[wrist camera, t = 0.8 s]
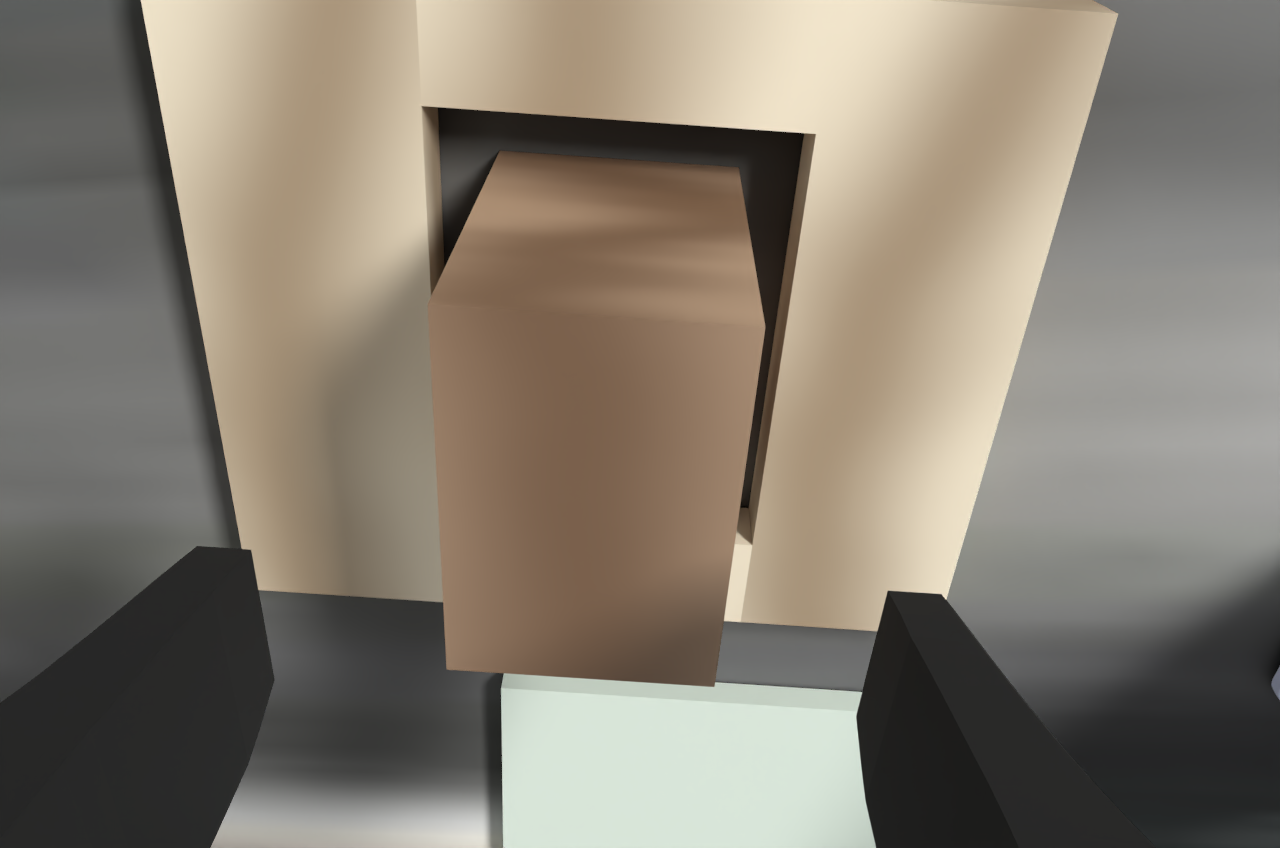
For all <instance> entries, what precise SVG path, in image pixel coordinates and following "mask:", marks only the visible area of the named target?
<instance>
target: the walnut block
mask: <svg viewBox="0 0 1280 848" xmlns="http://www.w3.org/2000/svg"><path fill="white" fill-rule="evenodd" d="M428 323H429V342H430V361H431V381H432V400H433V419H434V438H435V457H436V476H437V495H438V514H439V533H440V552H441V571H442V591H443V610H444V629H445V648H446V667H447V670H461V671H476V672H491V673H507V674H522V675H537V676H553V677H568V678H583V679H599V680H614V681H629V682H645V683H660V684H675V685H691V686H706V687H714V686H715V679H716V672H717V665H718V658H719V651H720V644H721V637H722V630H723V623H724V616H725V609H726V602H727V595H728V588H729V581H730V574H731V567H732V559H733V552H734V545H735V538H736V531H737V524H738V517H739V510H740V503H741V496H742V489H743V482H744V475H745V468H746V461H747V454H748V447H749V440H750V433H751V426H752V419H753V412H754V405H755V397H756V390H757V383H758V376H759V369H760V362H761V355H762V348H763V341H764V334H765V322H764V316H763V310H762V304H761V298H760V292H759V286H758V280H757V274H756V268H755V262H754V256H753V250H752V244H751V238H750V233H749V227H748V221H747V215H746V209H745V203H744V197H743V191H742V185H741V179H740V173H739V167H727V166H712V165H698V164H684V163H670V162H656V161H641V160H627V159H613V158H599V157H584V156H570V155H556V154H542V153H527V152H513V151H499V153H498V155H497V158H496V160H495V162H494V164H493V166H492V168H491V170H490V172H489V175H488V177H487V179H486V181H485V183H484V185H483V187H482V189H481V192H480V194H479V196H478V198H477V200H476V202H475V204H474V206H473V209H472V211H471V213H470V215H469V217H468V219H467V221H466V223H465V226H464V228H463V230H462V232H461V234H460V236H459V238H458V240H457V243H456V245H455V247H454V249H453V251H452V253H451V255H450V257H449V260H448V262H447V264H446V266H445V268H444V270H443V272H442V274H441V277H440V279H439V281H438V283H437V285H436V287H435V289H434V291H433V293H432V296H431V298H430V300H429V302H428Z"/></svg>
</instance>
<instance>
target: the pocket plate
mask: <svg viewBox="0 0 1280 848" xmlns="http://www.w3.org/2000/svg"><path fill="white" fill-rule="evenodd" d="M141 4H142V10H143V15H144V21H145V26H146V31H147V37H148V42H149V48H150V53H151V59H152V64H153V69H154V75H155V80H156V86H157V91H158V97H159V102H160V107H161V113H162V118H163V124H164V129H165V135H166V140H167V145H168V151H169V156H170V162H171V167H172V173H173V178H174V183H175V189H176V194H177V200H178V205H179V211H180V216H181V221H182V227H183V232H184V238H185V243H186V249H187V254H188V259H189V265H190V270H191V276H192V281H193V287H194V292H195V297H196V303H197V308H198V314H199V319H200V325H201V330H202V335H203V341H204V346H205V352H206V357H207V363H208V368H209V373H210V379H211V384H212V390H213V395H214V401H215V406H216V411H217V417H218V422H219V428H220V433H221V439H222V444H223V449H224V455H225V460H226V466H227V471H228V477H229V482H230V487H231V493H232V498H233V504H234V509H235V515H236V520H237V525H238V531H239V536H240V542H241V547H242V549H248V550H251V552H252V557H253V563H254V568H255V574H256V579H257V585H258V590H266V591H281V592H296V593H311V594H326V595H341V596H356V597H371V598H386V599H402V600H417V601H432V602H443V591H442V571H441V552H440V533H439V514H438V495H437V476H436V457H435V438H434V419H433V400H432V381H431V361H430V342H429V323H428V302H429V300H430V298H431V296H432V293H433V291H434V289H435V287H436V285H437V283H438V281H439V279H440V277H441V274H442V272H443V270H444V268H445V267H444V244H443V220H442V196H441V172H440V148H439V124H438V107H443V108H457V109H471V110H485V111H499V112H513V113H527V114H541V115H555V116H569V117H583V118H598V119H612V120H626V121H640V122H654V123H668V124H682V125H696V126H710V127H724V128H738V129H752V130H767V131H781V132H795V133H804V138H803V145H802V152H801V158H800V165H799V172H798V179H797V185H796V192H795V199H794V205H793V212H792V219H791V226H790V232H789V239H788V246H787V253H786V259H785V266H784V273H783V280H782V286H781V293H780V300H779V307H778V313H777V320H776V327H775V334H774V340H773V347H772V354H771V360H770V367H769V374H768V381H767V387H766V394H765V401H764V408H763V414H762V421H761V428H760V435H759V441H758V448H757V455H756V462H755V468H754V475H753V482H752V489H751V495H750V502H749V508H740V510H739V517H738V524H737V531H736V538H735V545H734V552H733V559H732V567H731V574H730V581H729V588H728V595H727V602H726V609H725V616H724V621H732V622H747V623H762V624H777V625H792V626H807V627H822V628H838V629H853V630H868V631H878V627H879V623H880V619H881V615H882V612H883V608H884V604H885V600H886V596H887V592H888V591H902V592H918V593H933V594H942V595H943V597H944V598H945V599H947V595H948V592H949V588H950V585H951V582H952V578H953V575H954V571H955V568H956V565H957V561H958V558H959V554H960V551H961V548H962V544H963V541H964V537H965V534H966V531H967V527H968V524H969V520H970V517H971V513H972V510H973V507H974V503H975V500H976V496H977V493H978V490H979V486H980V483H981V479H982V476H983V473H984V469H985V466H986V462H987V459H988V456H989V452H990V449H991V445H992V442H993V439H994V435H995V432H996V428H997V425H998V422H999V418H1000V415H1001V411H1002V408H1003V404H1004V401H1005V398H1006V394H1007V391H1008V387H1009V384H1010V381H1011V377H1012V374H1013V370H1014V367H1015V364H1016V360H1017V357H1018V353H1019V350H1020V347H1021V343H1022V340H1023V336H1024V333H1025V330H1026V326H1027V323H1028V319H1029V316H1030V313H1031V309H1032V306H1033V302H1034V299H1035V295H1036V292H1037V289H1038V285H1039V282H1040V278H1041V275H1042V272H1043V268H1044V265H1045V261H1046V258H1047V255H1048V251H1049V248H1050V244H1051V241H1052V238H1053V234H1054V231H1055V227H1056V224H1057V221H1058V217H1059V214H1060V210H1061V207H1062V204H1063V200H1064V197H1065V193H1066V190H1067V186H1068V183H1069V180H1070V176H1071V173H1072V169H1073V166H1074V163H1075V159H1076V156H1077V152H1078V149H1079V146H1080V142H1081V139H1082V135H1083V132H1084V129H1085V125H1086V122H1087V118H1088V115H1089V112H1090V108H1091V105H1092V101H1093V98H1094V95H1095V91H1096V88H1097V84H1098V81H1099V77H1100V74H1101V71H1102V67H1103V64H1104V60H1105V57H1106V54H1107V50H1108V47H1109V43H1110V40H1111V37H1112V33H1113V30H1114V26H1115V23H1116V20H1117V16H1118V13H1116V12H1114V11H1112V10H1110V9H1108V8H1106V7H1104V6H1102V5H1100V4H1099V3H1097V2H1095V1H1093V0H141Z"/></svg>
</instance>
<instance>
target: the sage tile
mask: <svg viewBox="0 0 1280 848" xmlns="http://www.w3.org/2000/svg"><path fill="white" fill-rule="evenodd" d="M861 695H862V692H855V691H840V690H825V689H809V688H794V687H779V686H764V685H749V684H734V683H719V682H715V686H714V687H706V686H691V685H675V684H660V683H645V682H629V681H614V680H599V679H583V678H568V677H553V676H537V675H522V674H507V673H504V675H503V681H502V686H501V721H502V797H503V848H876V845H875V841H874V836H873V832H872V828H871V823H870V819H869V815H868V810H867V806H866V801H865V793H864V785H863V777H862V768H861V760H860V750H859V740H858V730H857V720H856V715H857V711H858V707H859V703H860V699H861Z"/></svg>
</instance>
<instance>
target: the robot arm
mask: <svg viewBox="0 0 1280 848" xmlns="http://www.w3.org/2000/svg"><path fill="white" fill-rule="evenodd" d="M273 683H274V675H273V669H272V663H271V658H270V652H269V647H268V641H267V635H266V630H265V624H264V619H263V613H262V607H261V602H260V596H259V591H258V585H257V579H256V574H255V568H254V563H253V557H252V552H251V550H248V549H233V548H217V547H202V546H197V547H196V548H194V549H193V550H192V551H191V552H189V553H188V554H187V555H185V556H184V557H183V558H182V559H180V560H179V561H178V562H177V563H176V564H174V565H173V566H172V567H171V568H169V569H168V570H167V571H166V572H165V573H163V574H162V575H161V576H160V577H159V578H157V579H156V580H155V581H154V582H152V583H151V584H150V585H149V586H148V587H146V588H145V589H144V590H143V591H142V592H140V593H139V594H138V595H137V596H136V597H134V598H133V599H132V600H131V601H130V602H128V603H127V604H126V605H125V606H123V607H122V608H121V609H120V610H119V611H117V612H116V613H115V614H114V615H113V616H111V617H110V618H109V619H108V620H107V621H105V622H104V623H103V624H102V625H100V626H99V627H98V628H97V629H96V630H94V631H93V632H92V633H91V634H89V635H88V636H87V637H86V638H84V639H83V640H82V641H81V642H79V643H78V644H77V645H76V646H74V647H73V648H72V649H71V650H69V651H68V652H67V653H66V654H64V655H63V656H62V657H61V658H59V659H58V660H57V661H56V662H54V663H53V664H52V665H51V666H49V667H48V668H47V669H45V670H44V671H43V672H42V673H40V674H39V675H38V676H36V677H35V678H34V679H32V680H31V681H30V682H28V683H27V684H26V685H24V686H23V687H22V688H20V689H19V690H17V691H16V692H15V693H13V694H12V695H11V696H9V697H8V698H7V699H5V700H4V701H3V702H1V703H0V848H210V847H211V845H212V843H213V841H214V839H215V836H216V834H217V832H218V830H219V828H220V825H221V823H222V821H223V819H224V817H225V814H226V812H227V810H228V808H229V806H230V803H231V801H232V799H233V797H234V795H235V792H236V790H237V788H238V786H239V783H240V781H241V779H242V777H243V774H244V772H245V770H246V767H247V765H248V763H249V760H250V757H251V754H252V751H253V748H254V745H255V742H256V739H257V735H258V732H259V729H260V726H261V723H262V720H263V716H264V713H265V710H266V706H267V703H268V700H269V696H270V693H271V689H272V686H273ZM1271 686H1272V689H1273V691H1274V692H1275V694H1276V696H1277V697H1278V699H1279V700H1280V667H1279V668H1278V670H1277V672H1276V674H1275V676H1274V677H1273V680H1272V684H1271ZM856 720H857V730H858V740H859V750H860V760H861V768H862V777H863V785H864V793H865V801H866V806H867V810H868V815H869V819H870V823H871V828H872V832H873V836H874V841H875V845H876V848H1156V847H1155V846H1154V845H1153V844H1152V843H1151V842H1150V841H1149V840H1148V839H1147V838H1146V837H1145V836H1144V835H1143V834H1142V833H1141V832H1140V831H1139V830H1138V829H1137V828H1136V827H1135V826H1134V825H1133V824H1132V823H1131V822H1130V821H1129V820H1128V819H1127V817H1126V816H1125V815H1124V814H1123V813H1122V812H1121V811H1120V810H1119V809H1118V808H1117V807H1116V806H1115V805H1114V803H1113V802H1112V801H1111V800H1110V799H1109V798H1108V797H1107V796H1106V795H1105V794H1104V793H1103V792H1102V790H1101V789H1100V788H1099V787H1098V786H1097V785H1096V784H1095V783H1094V782H1093V781H1092V780H1091V779H1090V777H1089V776H1088V775H1087V774H1086V773H1085V772H1084V771H1083V769H1082V768H1081V767H1080V766H1079V765H1078V764H1077V763H1076V761H1075V760H1074V759H1073V758H1072V757H1071V756H1070V755H1069V753H1068V752H1067V751H1066V750H1065V749H1064V747H1063V746H1062V745H1061V744H1060V743H1059V741H1058V740H1057V739H1056V738H1055V737H1054V736H1053V734H1052V733H1051V732H1050V731H1049V730H1048V728H1047V727H1046V726H1045V725H1044V724H1043V722H1042V721H1041V720H1040V719H1039V718H1038V716H1037V715H1036V714H1035V713H1034V712H1033V710H1032V709H1031V708H1030V707H1029V706H1028V704H1027V703H1026V702H1025V701H1024V699H1023V698H1022V697H1021V696H1020V694H1019V693H1018V692H1017V691H1016V689H1015V688H1014V687H1013V686H1012V684H1011V683H1010V682H1009V680H1008V679H1007V678H1006V677H1005V675H1004V674H1003V673H1002V671H1001V670H1000V669H999V668H998V666H997V665H996V664H995V663H994V661H993V660H992V659H991V657H990V656H989V655H988V653H987V652H986V651H985V650H984V648H983V647H982V646H981V644H980V643H979V642H978V640H977V639H976V638H975V636H974V635H973V634H972V633H971V631H970V630H969V629H968V627H967V626H966V625H965V623H964V622H963V621H962V619H961V618H960V617H959V616H958V614H957V613H956V612H955V610H954V609H953V608H952V607H951V605H950V604H949V603H948V602H947V600H946V599H945V598H944V597H943V595H942V594H933V593H918V592H902V591H888V592H887V596H886V600H885V604H884V608H883V612H882V615H881V619H880V623H879V627H878V631H877V635H876V639H875V643H874V647H873V651H872V655H871V659H870V663H869V667H868V671H867V675H866V679H865V683H864V687H863V691H862V695H861V699H860V703H859V707H858V711H857V715H856Z"/></svg>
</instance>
